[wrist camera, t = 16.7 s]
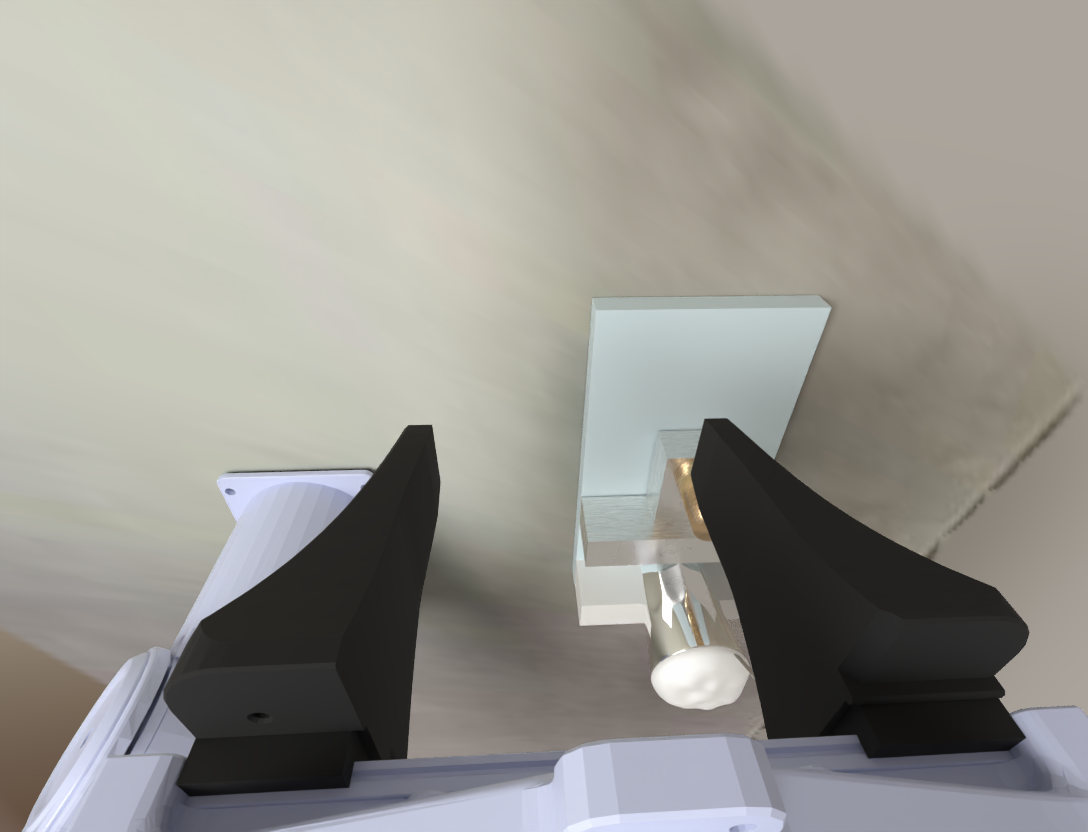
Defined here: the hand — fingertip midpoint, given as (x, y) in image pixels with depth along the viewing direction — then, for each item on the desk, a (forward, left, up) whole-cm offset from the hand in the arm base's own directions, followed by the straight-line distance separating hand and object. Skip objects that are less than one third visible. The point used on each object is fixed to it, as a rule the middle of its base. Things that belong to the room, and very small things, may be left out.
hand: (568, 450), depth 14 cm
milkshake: (-15, -7, -9) cm, 19 cm away
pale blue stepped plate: (-10, -7, -10) cm, 16 cm away
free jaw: (-10, -7, -9) cm, 15 cm away
